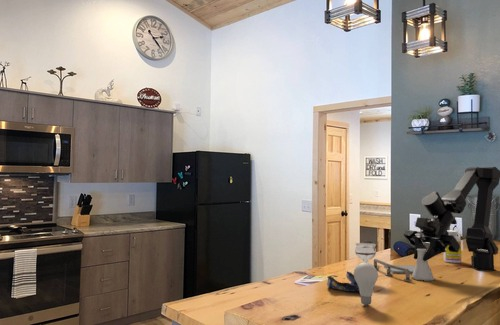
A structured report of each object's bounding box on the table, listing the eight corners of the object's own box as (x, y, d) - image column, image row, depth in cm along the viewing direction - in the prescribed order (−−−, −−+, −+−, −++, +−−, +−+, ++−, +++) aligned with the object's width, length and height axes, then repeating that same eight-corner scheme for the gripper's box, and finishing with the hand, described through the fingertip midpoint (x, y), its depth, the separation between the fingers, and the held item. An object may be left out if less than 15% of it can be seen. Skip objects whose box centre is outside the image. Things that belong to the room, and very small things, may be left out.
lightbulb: (350, 302, 104) (350, 260, 105) (372, 302, 105) (372, 260, 105) (359, 309, 98) (358, 265, 99) (382, 308, 99) (381, 264, 99)
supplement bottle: (464, 263, 160) (463, 231, 161) (448, 263, 160) (447, 231, 161) (456, 260, 166) (455, 230, 167) (440, 260, 167) (439, 230, 167)
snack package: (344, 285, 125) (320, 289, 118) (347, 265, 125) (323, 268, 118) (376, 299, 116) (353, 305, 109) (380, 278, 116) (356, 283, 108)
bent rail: (376, 268, 149) (376, 258, 149) (413, 281, 128) (413, 269, 128) (368, 268, 148) (367, 258, 149) (403, 282, 127) (403, 270, 127)
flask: (436, 282, 128) (436, 251, 128) (413, 280, 129) (412, 250, 130) (431, 277, 135) (430, 247, 136) (409, 276, 136) (408, 247, 137)
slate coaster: (413, 267, 151) (412, 265, 151) (424, 273, 140) (424, 271, 140) (384, 267, 151) (384, 265, 151) (393, 273, 140) (393, 271, 140)
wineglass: (380, 281, 128) (379, 244, 129) (371, 284, 124) (370, 246, 124) (361, 277, 133) (360, 242, 134) (351, 281, 128) (350, 244, 129)
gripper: (406, 208, 144) (385, 240, 138) (453, 210, 127) (431, 247, 121) (421, 228, 147) (401, 260, 141) (469, 233, 130) (448, 270, 124)
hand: (419, 259), depth 132 cm, fingers open, 3 cm apart
